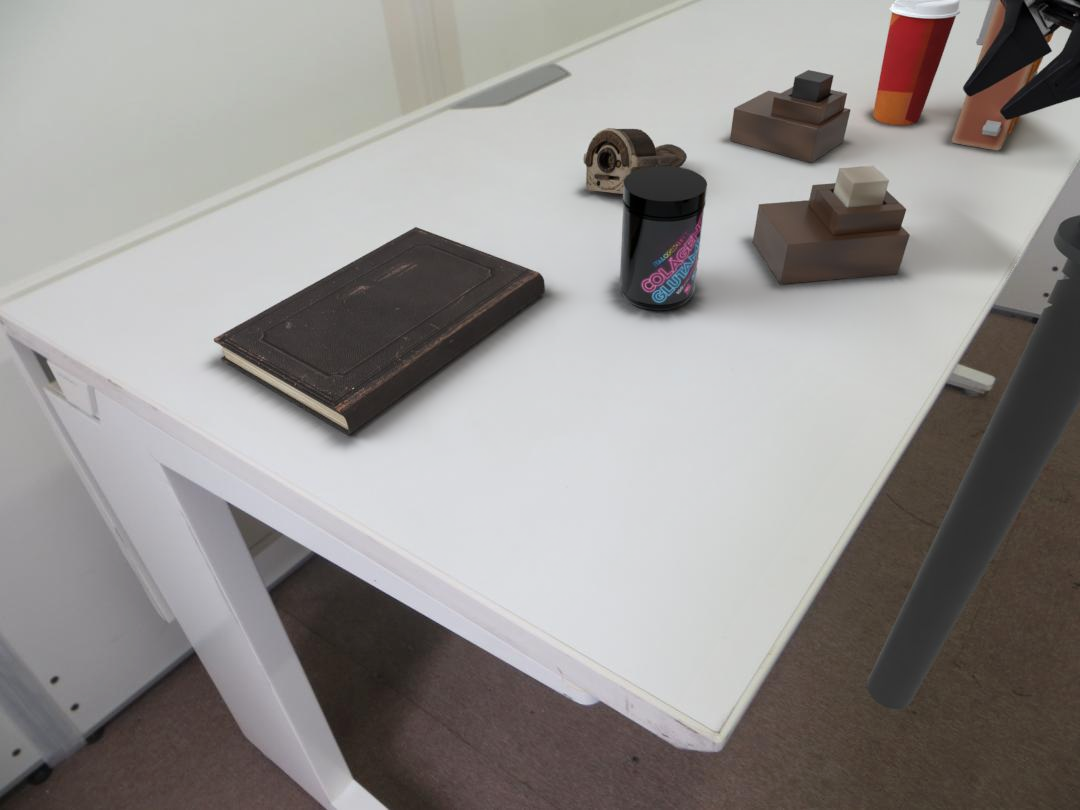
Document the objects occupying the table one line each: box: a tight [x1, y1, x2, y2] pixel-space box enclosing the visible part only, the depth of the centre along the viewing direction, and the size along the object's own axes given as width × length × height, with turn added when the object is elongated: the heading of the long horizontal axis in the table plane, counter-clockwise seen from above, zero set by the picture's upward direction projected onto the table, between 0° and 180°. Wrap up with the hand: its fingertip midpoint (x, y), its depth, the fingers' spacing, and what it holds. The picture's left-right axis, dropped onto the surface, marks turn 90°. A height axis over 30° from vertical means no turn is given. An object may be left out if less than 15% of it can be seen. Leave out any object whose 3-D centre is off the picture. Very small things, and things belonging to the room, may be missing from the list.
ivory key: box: [834, 165, 890, 208], centre depth 67 cm, size 3×3×2 cm
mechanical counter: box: [582, 127, 688, 195], centre depth 83 cm, size 7×13×10 cm
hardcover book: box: [213, 226, 546, 435], centre depth 64 cm, size 16×23×2 cm
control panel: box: [951, 0, 1055, 152], centre depth 87 cm, size 21×7×15 cm
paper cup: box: [872, 0, 961, 126], centre depth 93 cm, size 8×8×14 cm
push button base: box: [729, 86, 851, 164], centre depth 91 cm, size 11×8×6 cm
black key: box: [791, 69, 834, 103], centre depth 88 cm, size 3×3×2 cm
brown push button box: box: [752, 182, 911, 285], centre depth 70 cm, size 11×8×6 cm
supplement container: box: [619, 166, 708, 312], centre depth 65 cm, size 7×7×10 cm
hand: (983, 103), depth 64 cm, fingers open, 5 cm apart
